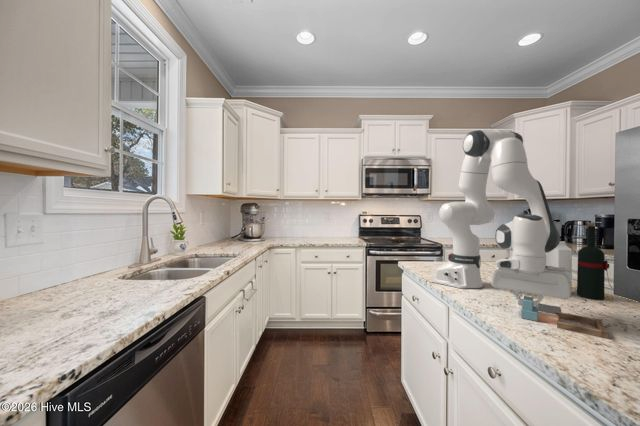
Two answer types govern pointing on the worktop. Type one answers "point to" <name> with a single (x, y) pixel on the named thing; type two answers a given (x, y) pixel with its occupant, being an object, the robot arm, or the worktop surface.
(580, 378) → the worktop surface
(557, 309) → the mat
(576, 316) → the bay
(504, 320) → the worktop surface
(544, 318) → the tile
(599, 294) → the wine bottle
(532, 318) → the pusher
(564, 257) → the milk
